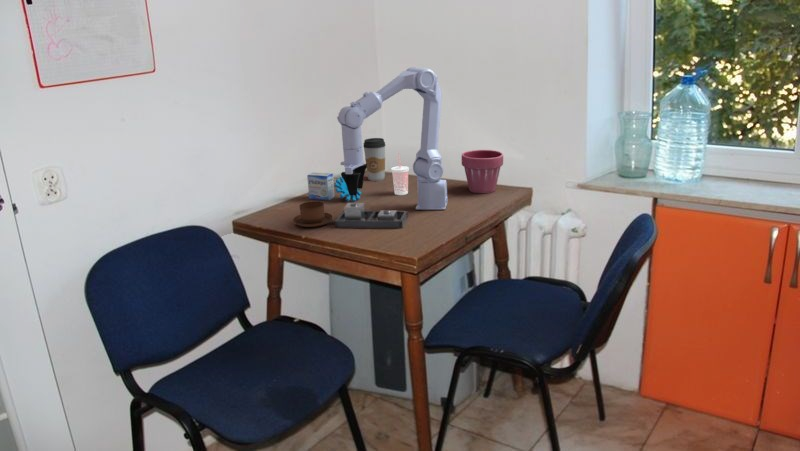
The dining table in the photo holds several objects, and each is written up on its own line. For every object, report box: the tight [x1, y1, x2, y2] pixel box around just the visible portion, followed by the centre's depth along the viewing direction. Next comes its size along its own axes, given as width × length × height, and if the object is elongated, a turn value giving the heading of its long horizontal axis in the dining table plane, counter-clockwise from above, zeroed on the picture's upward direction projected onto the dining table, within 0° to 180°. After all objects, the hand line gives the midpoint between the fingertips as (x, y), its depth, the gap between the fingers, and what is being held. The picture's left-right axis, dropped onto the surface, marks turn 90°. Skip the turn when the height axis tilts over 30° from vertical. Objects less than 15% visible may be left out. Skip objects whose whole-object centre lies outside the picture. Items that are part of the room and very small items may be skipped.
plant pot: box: [461, 149, 504, 194], centre depth 232 cm, size 14×14×13 cm
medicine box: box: [307, 172, 335, 201], centre depth 233 cm, size 8×4×9 cm, turn 68°
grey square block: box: [343, 202, 366, 221], centre depth 206 cm, size 5×5×6 cm
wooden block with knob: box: [377, 209, 398, 221], centre depth 204 cm, size 5×5×4 cm
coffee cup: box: [362, 137, 386, 182], centre depth 254 cm, size 8×8×15 cm
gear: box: [334, 176, 362, 202], centre depth 232 cm, size 11×6×10 cm
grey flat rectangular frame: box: [334, 210, 409, 229], centre depth 206 cm, size 20×11×2 cm, turn 80°
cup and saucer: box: [292, 200, 333, 228], centre depth 207 cm, size 12×12×6 cm
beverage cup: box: [390, 153, 410, 196], centre depth 233 cm, size 6×6×14 cm
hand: (356, 191), depth 205 cm, fingers open, 7 cm apart
